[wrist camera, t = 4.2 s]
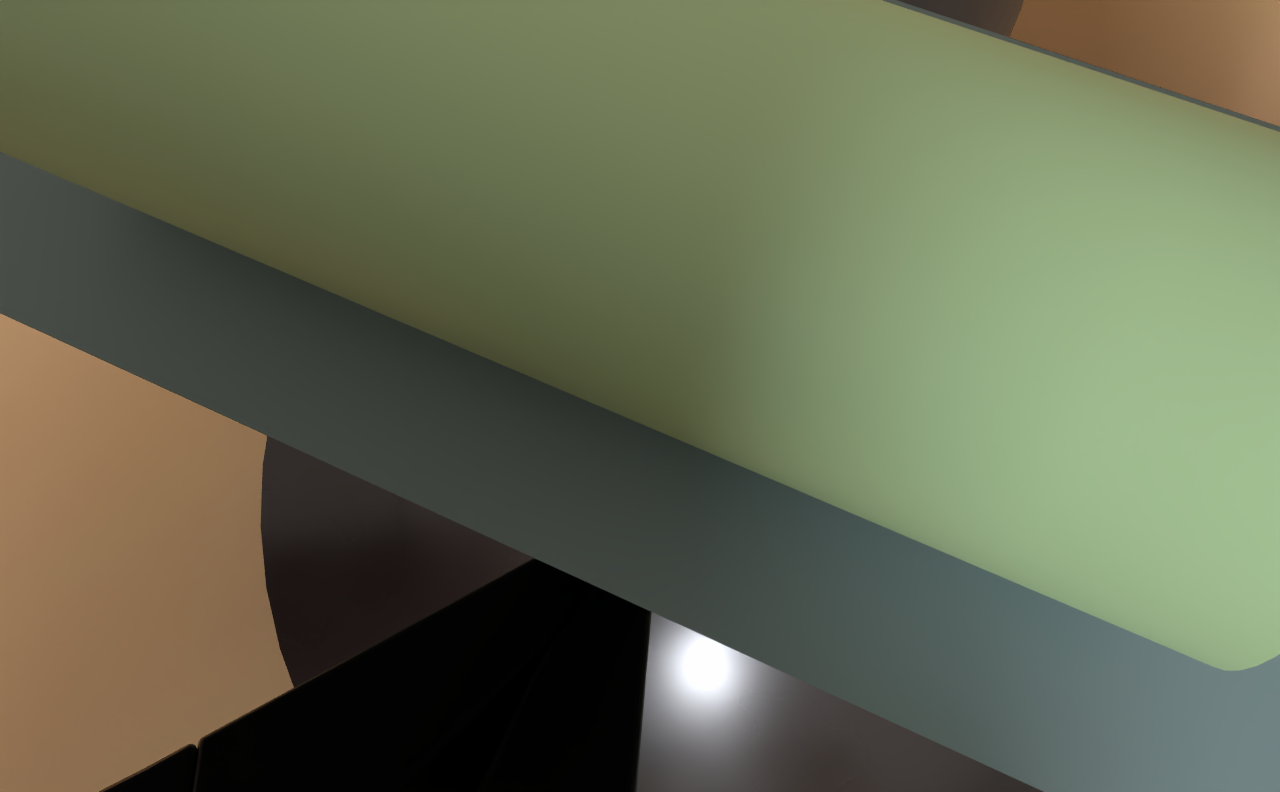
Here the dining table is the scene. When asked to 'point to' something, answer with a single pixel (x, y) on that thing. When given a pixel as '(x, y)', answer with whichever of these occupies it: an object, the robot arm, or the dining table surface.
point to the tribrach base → (677, 657)
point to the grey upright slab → (722, 326)
